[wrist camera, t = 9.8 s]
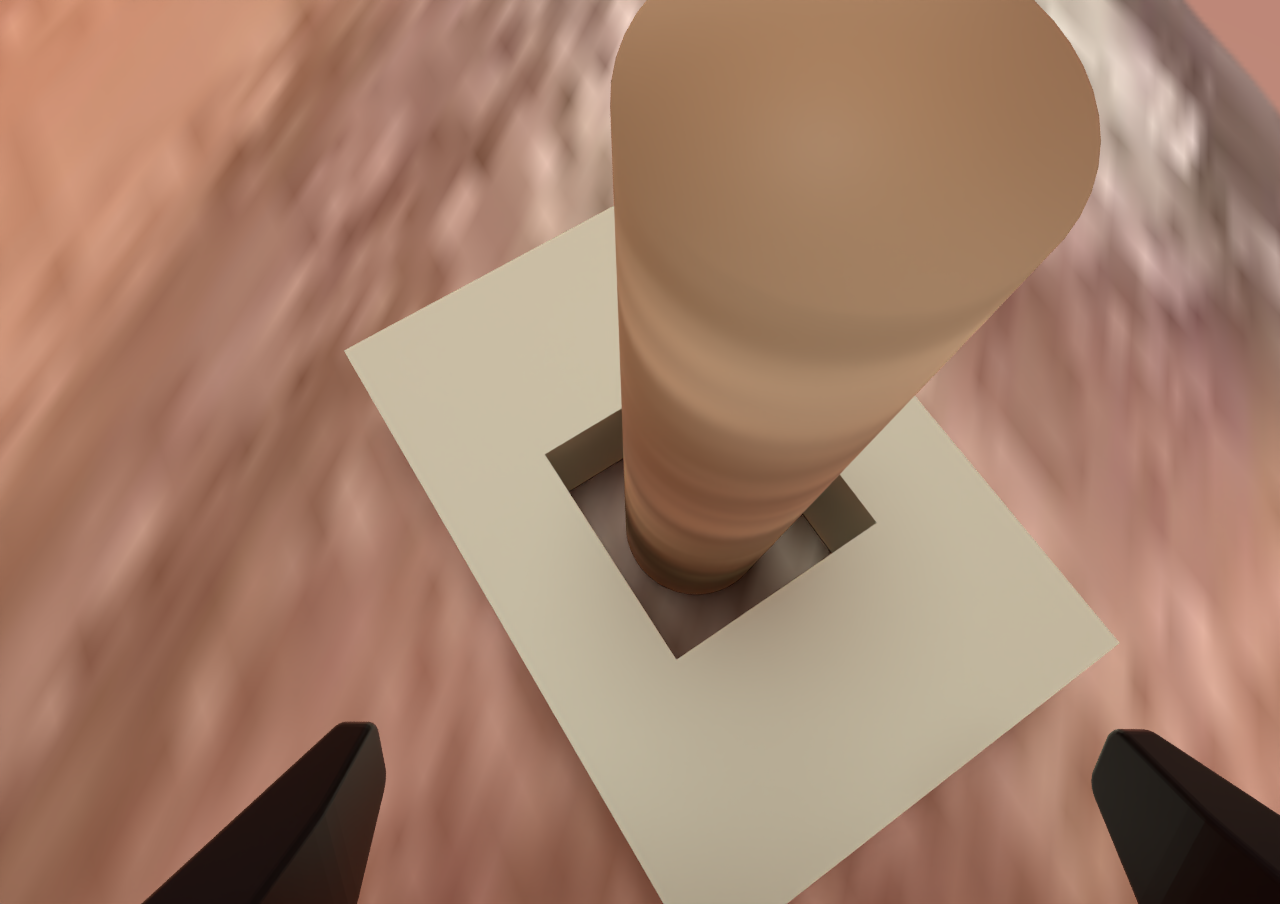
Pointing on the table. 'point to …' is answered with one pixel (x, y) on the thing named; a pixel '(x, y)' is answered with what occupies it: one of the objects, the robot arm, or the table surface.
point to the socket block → (754, 642)
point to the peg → (816, 239)
